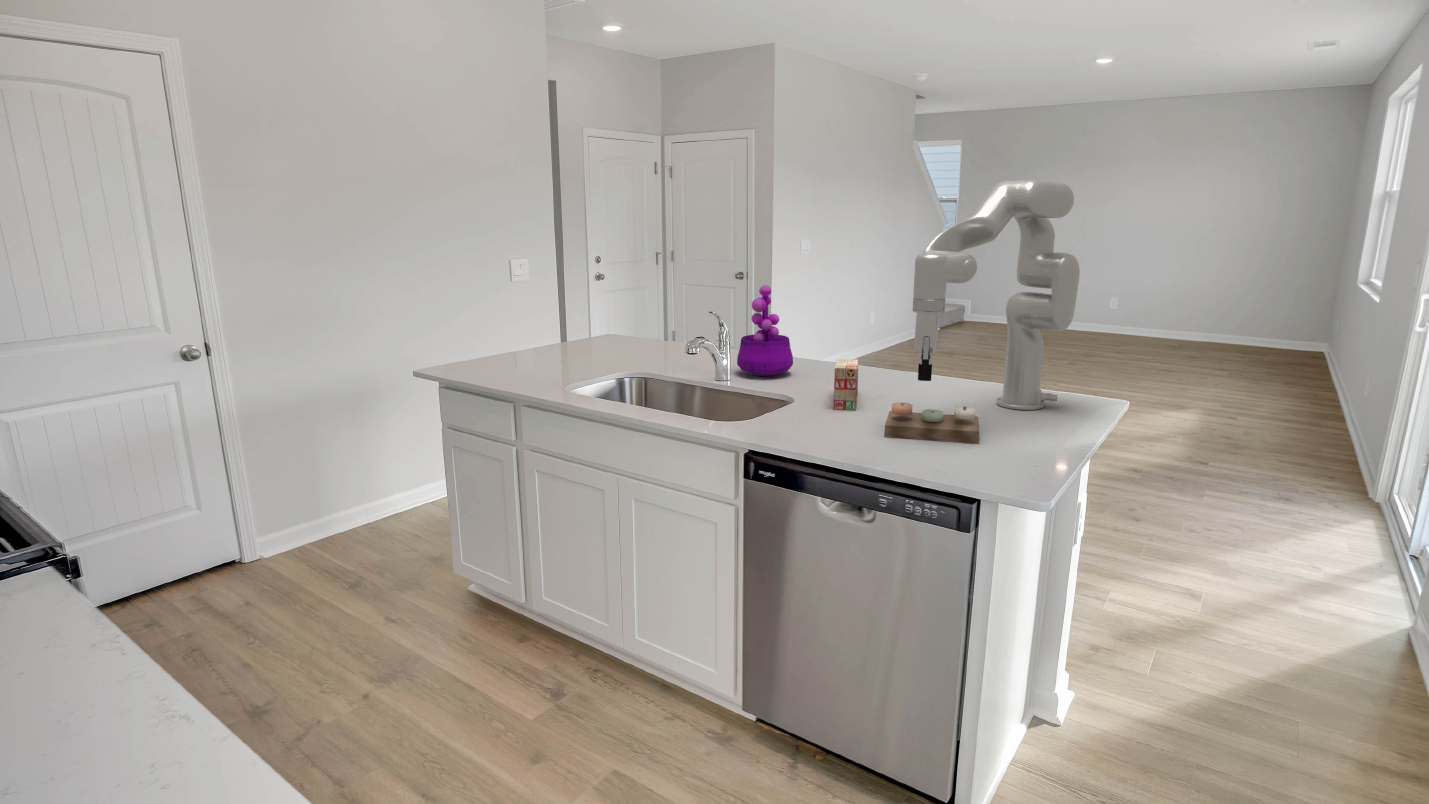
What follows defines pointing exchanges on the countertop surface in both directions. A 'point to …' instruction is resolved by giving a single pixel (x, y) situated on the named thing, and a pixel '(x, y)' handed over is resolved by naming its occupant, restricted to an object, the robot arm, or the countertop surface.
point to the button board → (932, 428)
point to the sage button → (932, 415)
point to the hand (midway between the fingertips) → (924, 379)
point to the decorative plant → (765, 342)
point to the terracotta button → (901, 408)
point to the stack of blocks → (846, 384)
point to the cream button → (964, 412)
